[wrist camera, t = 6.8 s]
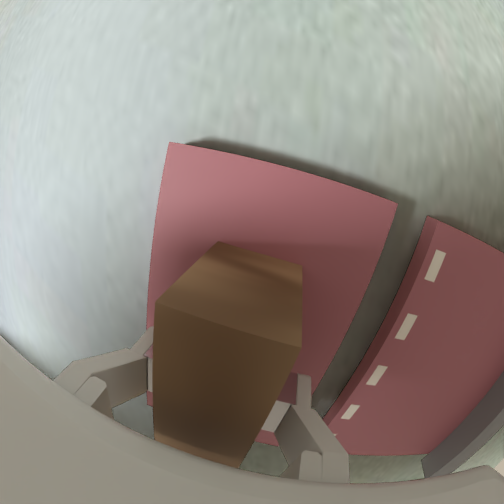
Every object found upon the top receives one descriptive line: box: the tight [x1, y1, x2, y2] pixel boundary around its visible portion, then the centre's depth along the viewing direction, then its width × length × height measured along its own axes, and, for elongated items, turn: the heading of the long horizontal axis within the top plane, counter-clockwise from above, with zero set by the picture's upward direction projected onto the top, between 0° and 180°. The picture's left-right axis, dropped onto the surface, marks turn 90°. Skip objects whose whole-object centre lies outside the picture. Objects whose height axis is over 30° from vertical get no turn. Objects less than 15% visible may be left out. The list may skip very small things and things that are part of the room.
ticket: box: [322, 216, 504, 478], centre depth 9 cm, size 14×16×3 cm
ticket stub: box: [146, 142, 398, 468], centre depth 9 cm, size 8×14×6 cm, turn 167°
